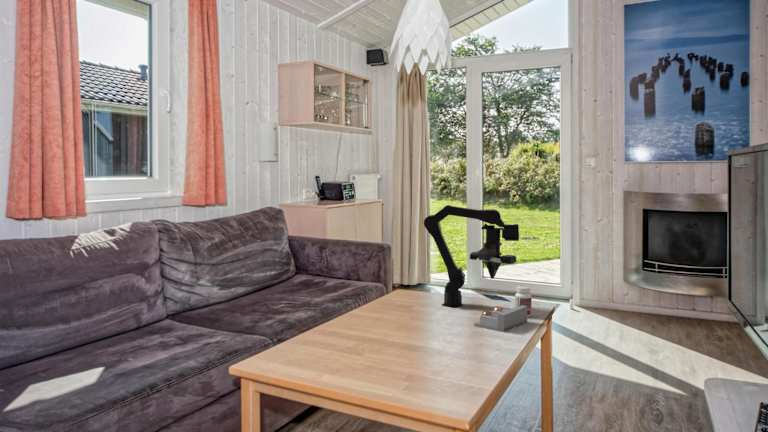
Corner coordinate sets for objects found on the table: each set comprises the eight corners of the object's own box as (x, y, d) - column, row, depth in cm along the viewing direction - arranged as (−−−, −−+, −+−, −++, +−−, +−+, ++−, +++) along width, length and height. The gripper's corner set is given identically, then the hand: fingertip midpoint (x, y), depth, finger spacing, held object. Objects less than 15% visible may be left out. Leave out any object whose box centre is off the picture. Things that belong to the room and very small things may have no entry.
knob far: (492, 317, 209) (492, 307, 208) (498, 314, 212) (499, 305, 212) (511, 321, 203) (511, 311, 203) (518, 318, 207) (518, 308, 207)
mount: (474, 325, 202) (474, 309, 202) (498, 316, 215) (498, 301, 215) (503, 332, 194) (504, 315, 194) (527, 322, 207) (527, 306, 207)
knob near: (480, 321, 203) (480, 311, 202) (487, 319, 206) (488, 309, 206) (500, 325, 197) (500, 315, 197) (507, 323, 201) (507, 312, 201)
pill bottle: (534, 315, 216) (534, 287, 215) (525, 318, 212) (526, 289, 211) (520, 313, 221) (521, 284, 220) (511, 315, 216) (512, 286, 215)
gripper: (462, 240, 228) (462, 278, 229) (503, 244, 215) (502, 284, 217) (477, 237, 236) (476, 274, 237) (517, 241, 224) (516, 280, 225)
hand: (492, 278), depth 229 cm, fingers closed
